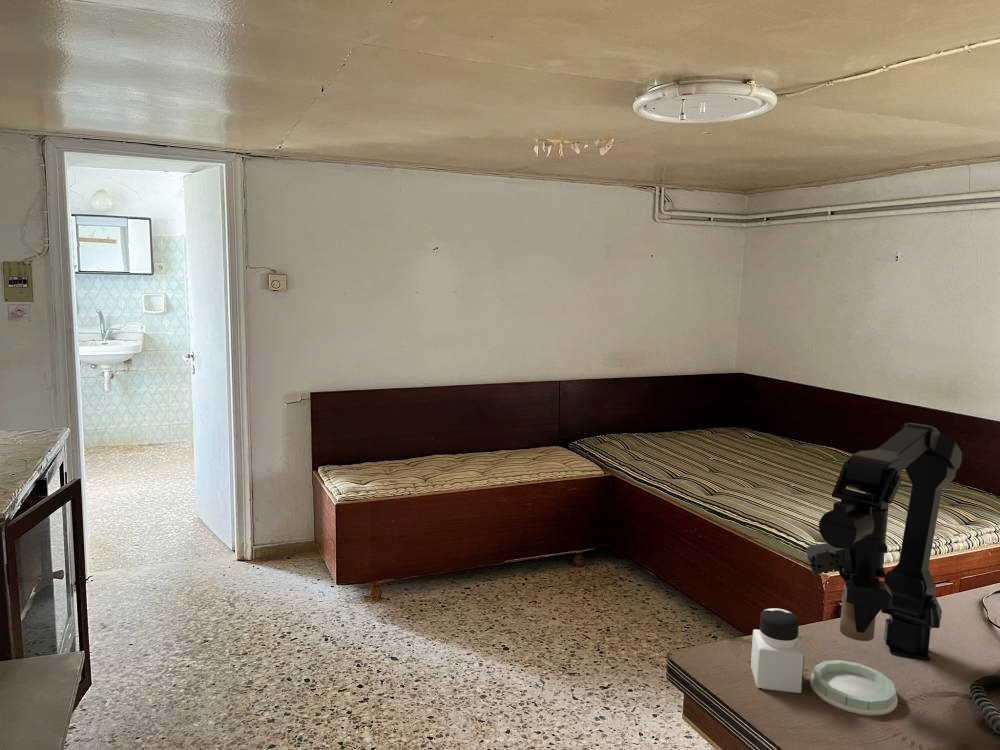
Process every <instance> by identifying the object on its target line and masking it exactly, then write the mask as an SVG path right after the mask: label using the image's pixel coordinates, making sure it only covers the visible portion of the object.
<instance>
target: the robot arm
mask: <svg viewBox="0 0 1000 750" xmlns="http://www.w3.org/2000/svg"><path fill="white" fill-rule="evenodd" d="M962 460H963V452H962V451H961V448H960V447H959V445H958V444H957V442H956V441H955V440H952V439H951V438H949V437H947V436H946V435H944V434H942V433H940V431H939V429H938V428H936V427H934V426H932V425H928V424H921V423H916V422H915V423H914V422H909V423H904V424H903V425H902V426H901V429H900V430H899V431H898V432H897V433H895V434H894V435H893V436H891V437H890V438H889V439H888V440H887V441H885V442H884V443H883V444H881V445H880V446H879V447H877V448H875V449H869V450H867V449H866V450H860V451H858V452H855V453H853V454H852V455H850V456H849V457H848V459H846V460H845V461H844V463H843V465H842V467H841V469H840V473H839V475H838V478H837V480H836V483H835V484H834V488H833V490H832V492H831V498H834V499H839V500H840V501H835V502H833V509H831V510H830V511H827V512H825V513H824V514H823V515H822V516H821V518H820V520H819V522H818V530H819V533H820V536H821V538H822V539H823V540H824V541H825V542H824V543H819V544H815V545H814V544H813V545H809V546H807V547H806V548H805V550H806V556H807V559H808V564H809V566H810V569H811V573H812V574H813V575H821V574H823V573H825V572H831V571H837V570H838V573H839V576H840V577H841V578H842V579H843V581H844V587H843V588H842V589H843V590H842V592H843V591H844V595H845V599H846V602H848V603H850V604H853V609H854V617H855V625H856V631H857V632H860V633H864V632H865V631H866V629H867V628H868V626H869V625H870V624H871V622H872V621H873V619H874V618H875V617H876V618H877V616H878V614H879V613H880V612H881V613H883V614H886V615H889V616H888V617H889V618H886V619H885V624H884V634H883V639H884V644H885V645H886V646H887V648H888V651H889V653H891V655H892V654H893V655H899V656H902V657H903V656H904V657H909V658H916V659H921V660H928V661H930V660H931V658H932V657H931V654H930V652H929V649H930V641H931V640H930V639H931V629H939V628H940V627H941V620H942V617H943V616H942V613H943V610H942V607H941V606H940V602H939V601H938V599H937V597H936V589H937V586H936V583H935V581H934V579H933V577H932V575H931V572H930V569H929V567H930V560H931V554H932V550H933V549H932V548H933V544H934V537H935V531H936V527H937V520H938V515H939V509H940V503H941V498H942V492H943V490H944V489H945V488H946V487H947V486H948V485H949V484H950V483H951V482H952V481H953V480H954V479H955V477H956V474H957V471H958V470H959V468H960V467H961V464H962ZM904 470H905V473H906V474H907V477H908V479H909V480H910V483H911V489H910V490H911V491H910V495H909V502H908V507H907V513H906V517H905V519H906V520H905V525H904V530H903V535H902V536H903V537H902V542H901V549H900V554H899V559H898V563H897V564H896V565H894V567H893V568H892V569H890V570H888V571H887V572H886V570H885V567H884V564H885V554H887V553H888V547H889V546H888V545H887V543H886V542H887V541H886V538H887V529H888V518H889V504H890V505H891V504H892V503H893V501H894V499H895V497H896V495H897V493H898V491H899V489H900V487H901V484H902V481H903V479H902V476H901V475H902V474H901V473H902V471H904ZM855 490H856V491H855ZM880 578H883V579H884V581H883V580H880ZM876 618H875V619H876Z"/></svg>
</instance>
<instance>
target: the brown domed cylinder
mask: <svg viewBox="0 0 1000 750" xmlns="http://www.w3.org/2000/svg"><path fill="white" fill-rule="evenodd" d="M876 618H877V616H876V617H875V618H874V619H873V621H872V622H871V624H870V625H869V626H868V628H867V629H866V631H865V632H864V633H860V632H857V631H856V625H855V617H854V609H853V604H850V603H848V602H846V599H845V595H844V591H843V590H842V598H841V611H840V622H839V623H840V624H839V625H840V626H839V632H840V633H841V634H842V635H844V636H845V638H846V637H847V638H849V639H850V640H851V639H852V640H855V641H860V642H869V641H873V639H874V638H875V628H876Z"/></svg>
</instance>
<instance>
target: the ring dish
mask: <svg viewBox="0 0 1000 750" xmlns="http://www.w3.org/2000/svg"><path fill="white" fill-rule="evenodd" d="M809 684H810V687H811V690H812V691H813V692H814V694H816V696H817V697H818V698H820V699H821V700H822V701H824V702H826V703H828V704H829V705H831V706H833V707H835V708H838V709H840V710H842V711H845V712H849V713H853V714H856V715H862V716H884V715H888V714H890V713H892V712H894V711H896V710H895V709H896V708H897V707H898V701H899V699H898V695H897V691H896V687H895V685H894V682H893V681H892V680H891V679H889V677H887V676H886V675H885V674H883V673H882V672H881V671H879V670H877V669H874V668H871V667H869V666H866V664H862V663H859V662H853V661H847V660H841V659H835V660H823V661H821V662H820V663H819V664H817V665H815V666H814V667H813V672H812V674H811V675H810V679H809Z"/></svg>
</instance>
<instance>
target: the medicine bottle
mask: <svg viewBox="0 0 1000 750" xmlns="http://www.w3.org/2000/svg"><path fill="white" fill-rule="evenodd" d="M759 618H760V620H759V629H756V628H755V629H753V630H752V643H751V644H752V645H751V656H750V657H751V660H750V667H751V672H752V675H753V679H754V682H755V685H756V688H757V687H758V688H757V689H759V688H762V689H761V690H770V691H777V692H786V693H793V694H801V693H802V691H803V690H802V689H803V679H804V665H805V653H804V650H803V648H802V645H801V644H800V640H799V626H800V619H799V618H798V616H797V615H796V614H794V613H792V612H791V611H789V610H786V609H783V608H776V607H775V608H774V607H773V608H772V607H771V608H766V609H764V610H763V611H761V613H760V617H759Z"/></svg>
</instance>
